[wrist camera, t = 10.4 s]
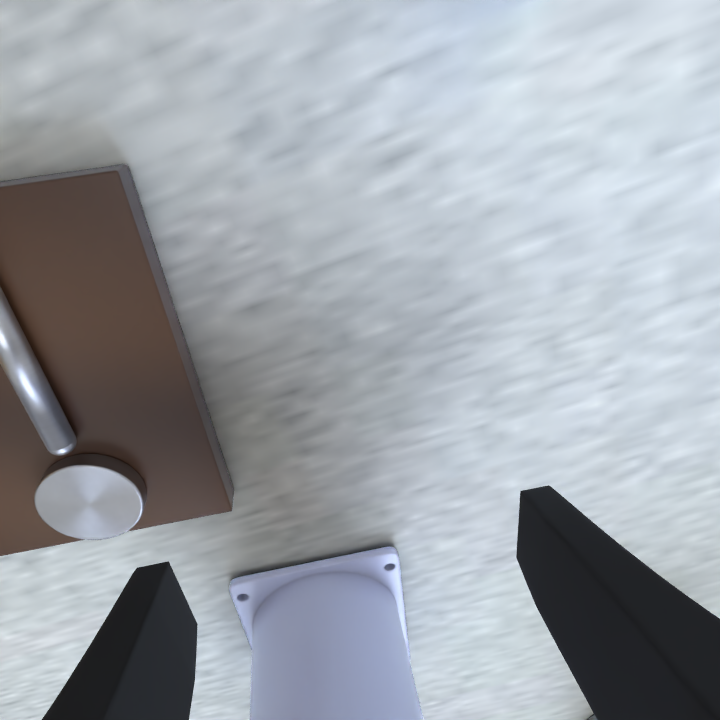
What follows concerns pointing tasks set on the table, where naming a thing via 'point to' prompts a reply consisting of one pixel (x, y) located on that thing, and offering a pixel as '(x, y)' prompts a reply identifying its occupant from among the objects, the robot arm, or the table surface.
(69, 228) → the board
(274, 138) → the table surface
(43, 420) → the silver rod with disc
